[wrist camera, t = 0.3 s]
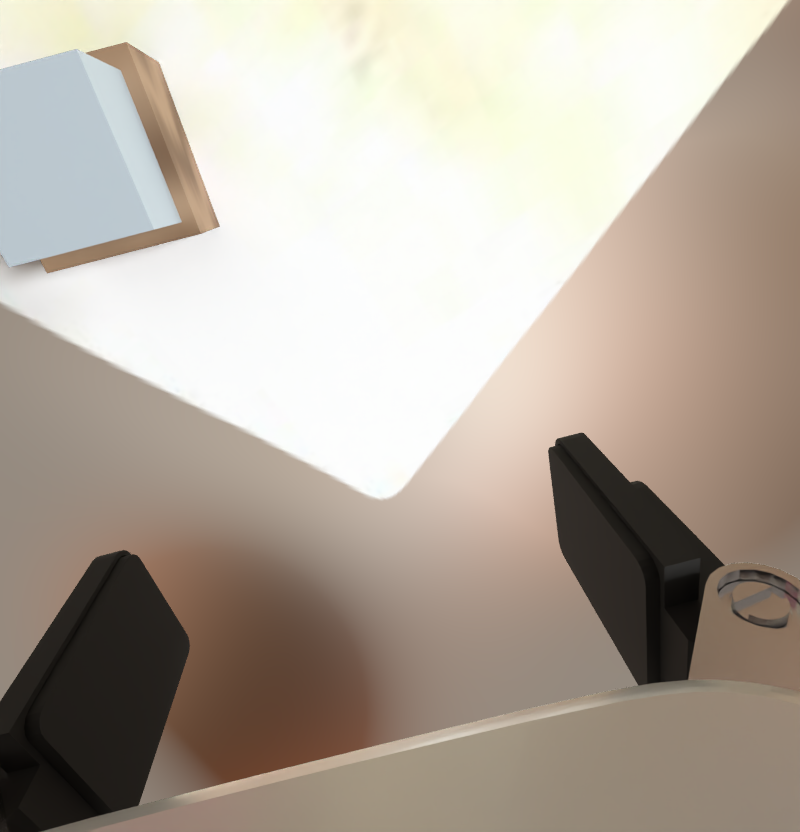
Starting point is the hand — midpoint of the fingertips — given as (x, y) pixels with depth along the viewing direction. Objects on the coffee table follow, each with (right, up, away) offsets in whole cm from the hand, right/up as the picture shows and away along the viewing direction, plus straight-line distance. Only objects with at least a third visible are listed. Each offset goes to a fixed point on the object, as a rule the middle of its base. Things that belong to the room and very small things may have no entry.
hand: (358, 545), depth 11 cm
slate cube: (-17, +17, +18) cm, 30 cm away
